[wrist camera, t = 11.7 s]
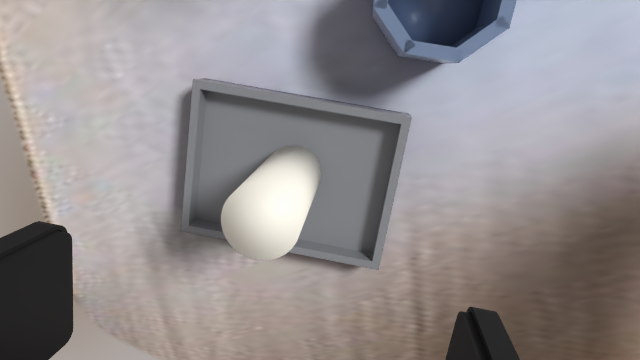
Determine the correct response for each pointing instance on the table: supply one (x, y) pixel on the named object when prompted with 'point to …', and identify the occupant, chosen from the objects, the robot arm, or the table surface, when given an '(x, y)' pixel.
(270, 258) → the peg
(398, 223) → the table surface
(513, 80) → the table surface
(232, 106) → the tray
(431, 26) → the cup
